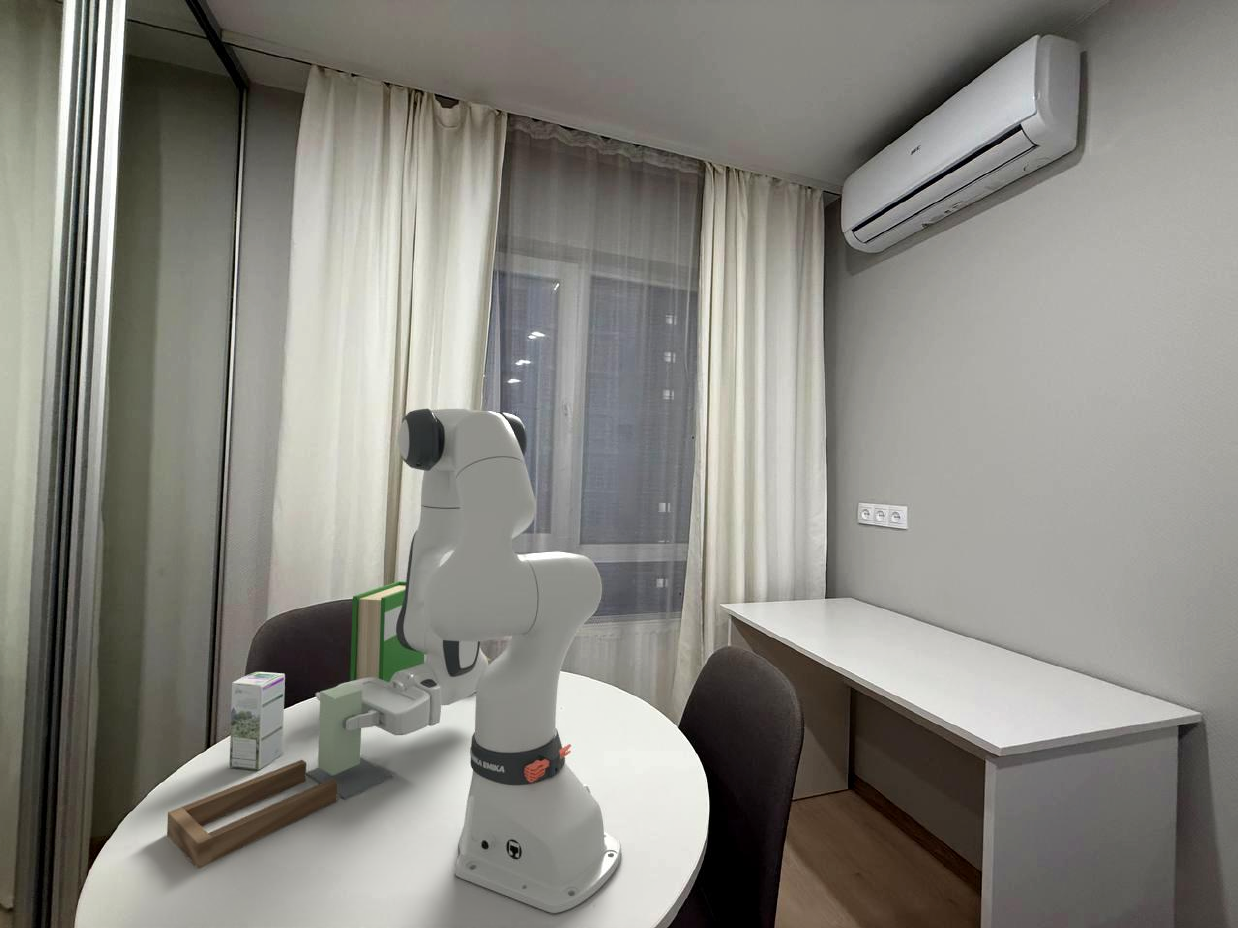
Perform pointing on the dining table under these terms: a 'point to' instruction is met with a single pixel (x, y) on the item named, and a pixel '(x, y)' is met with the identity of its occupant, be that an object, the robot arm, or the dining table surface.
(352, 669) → the hardback book
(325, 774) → the mat
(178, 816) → the frame
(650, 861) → the dining table surface
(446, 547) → the robot arm
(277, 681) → the syrup box
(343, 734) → the sage block
